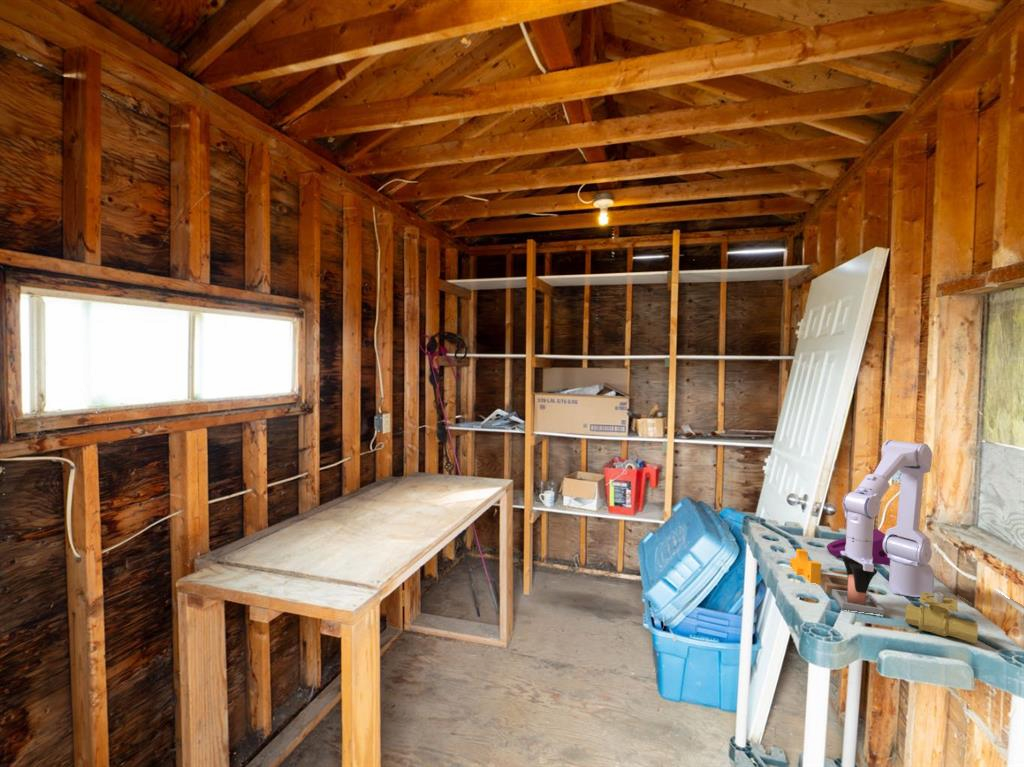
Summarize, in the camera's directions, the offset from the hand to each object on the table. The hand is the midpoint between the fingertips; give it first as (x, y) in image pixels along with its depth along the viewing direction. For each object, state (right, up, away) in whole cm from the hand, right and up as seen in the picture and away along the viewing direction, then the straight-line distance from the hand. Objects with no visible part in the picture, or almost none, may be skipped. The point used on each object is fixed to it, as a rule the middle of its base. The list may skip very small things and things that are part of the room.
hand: (857, 587), depth 124 cm
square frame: (+2, -5, +10) cm, 11 cm away
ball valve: (+11, -6, -12) cm, 17 cm away
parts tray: (0, -5, 0) cm, 5 cm away
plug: (0, -4, 0) cm, 4 cm away
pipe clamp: (-2, -5, +19) cm, 20 cm away
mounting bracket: (+28, -6, +37) cm, 46 cm away
